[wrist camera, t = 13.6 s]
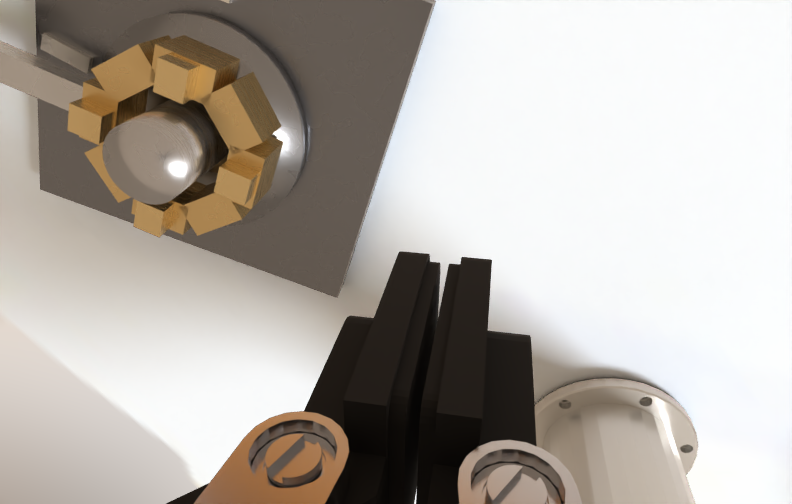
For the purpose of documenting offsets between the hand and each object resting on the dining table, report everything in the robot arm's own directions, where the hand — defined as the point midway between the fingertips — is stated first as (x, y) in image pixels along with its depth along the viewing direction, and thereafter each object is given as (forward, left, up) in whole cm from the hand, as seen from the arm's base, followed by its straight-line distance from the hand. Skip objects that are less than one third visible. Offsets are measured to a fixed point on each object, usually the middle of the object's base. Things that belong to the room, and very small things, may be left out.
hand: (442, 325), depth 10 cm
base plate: (-8, +15, -25) cm, 30 cm away
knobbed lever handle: (-9, +20, -22) cm, 31 cm away
